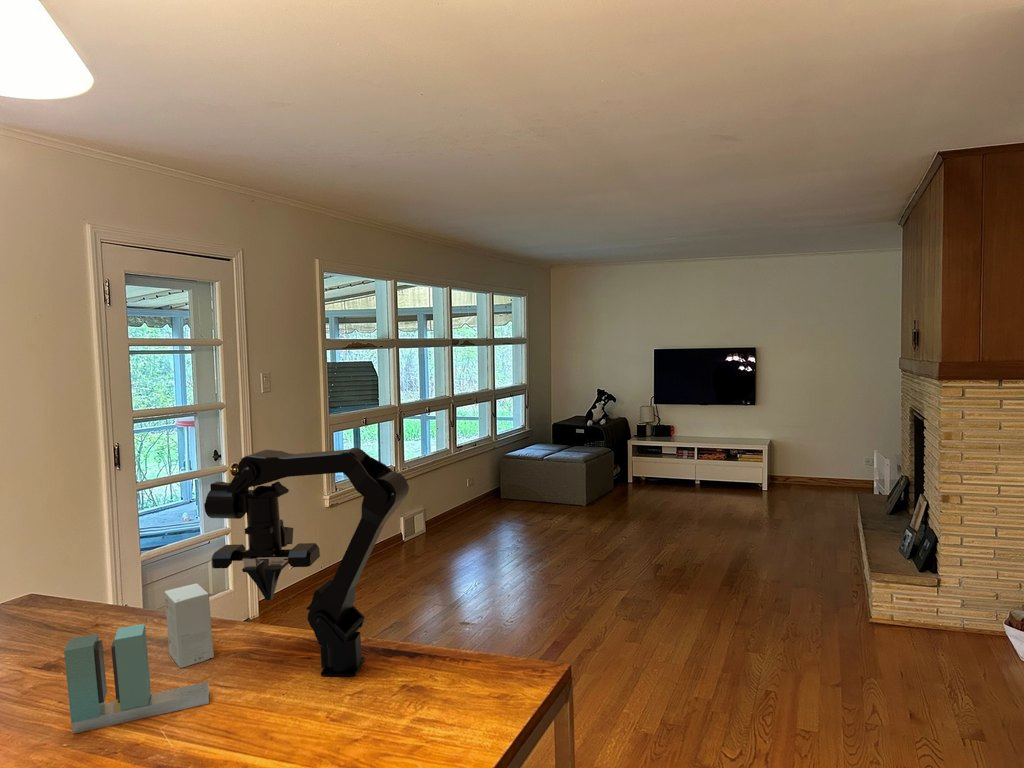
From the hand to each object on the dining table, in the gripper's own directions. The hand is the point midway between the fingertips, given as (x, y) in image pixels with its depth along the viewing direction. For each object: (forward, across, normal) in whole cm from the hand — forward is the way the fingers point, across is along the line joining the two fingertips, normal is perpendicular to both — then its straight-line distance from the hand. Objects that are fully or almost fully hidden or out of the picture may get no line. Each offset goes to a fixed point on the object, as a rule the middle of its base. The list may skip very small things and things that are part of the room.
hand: (269, 599), depth 132 cm
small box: (+13, +18, -3) cm, 22 cm away
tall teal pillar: (+10, +17, +17) cm, 26 cm away
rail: (+12, +16, +17) cm, 26 cm away
